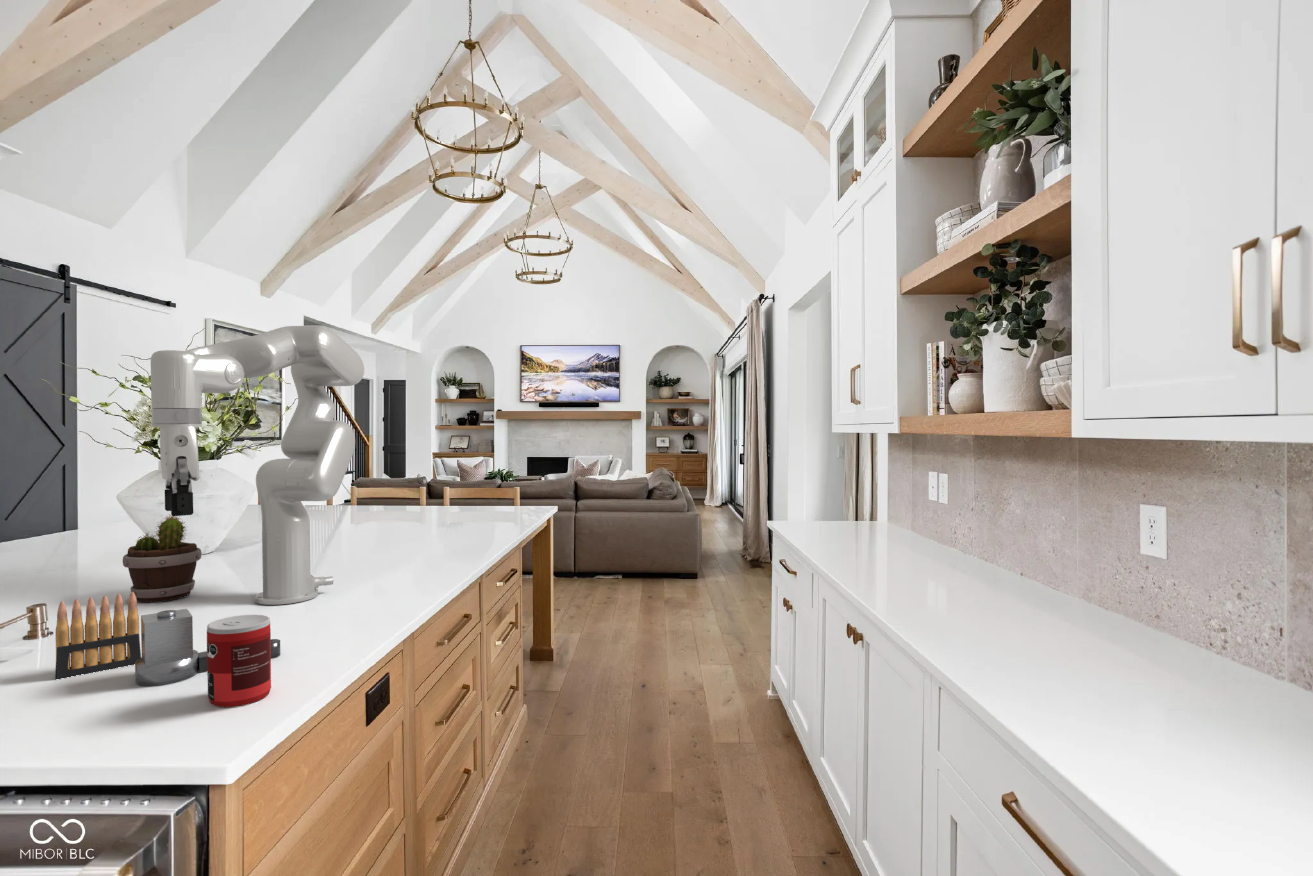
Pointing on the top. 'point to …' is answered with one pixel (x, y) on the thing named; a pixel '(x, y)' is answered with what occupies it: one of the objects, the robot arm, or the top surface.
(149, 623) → the socket
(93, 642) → the ammunition clip
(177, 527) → the flowerpot
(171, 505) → the robot arm
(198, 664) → the ratchet
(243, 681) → the canned food
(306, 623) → the top surface
